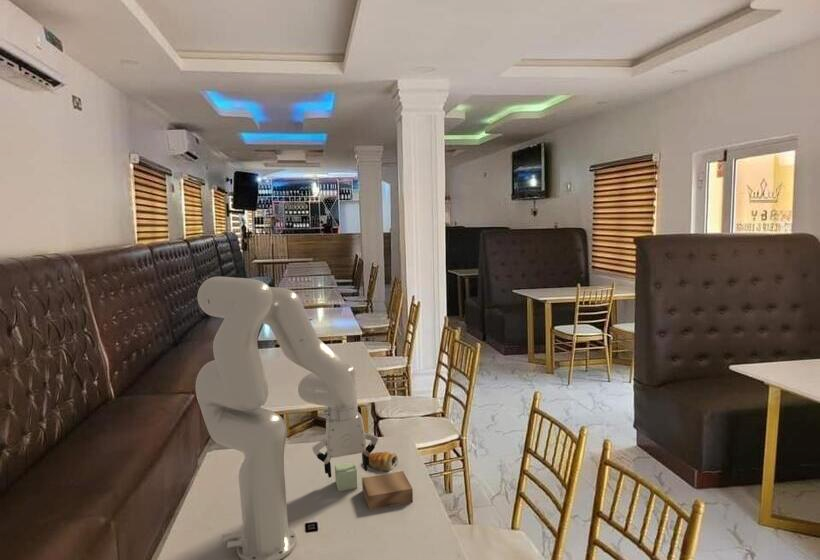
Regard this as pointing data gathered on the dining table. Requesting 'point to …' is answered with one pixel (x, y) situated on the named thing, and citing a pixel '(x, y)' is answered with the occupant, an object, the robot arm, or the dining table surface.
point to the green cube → (345, 476)
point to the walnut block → (387, 490)
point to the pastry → (383, 460)
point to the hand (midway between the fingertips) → (347, 471)
